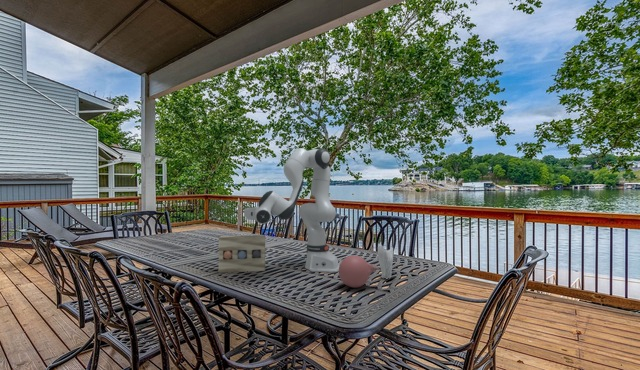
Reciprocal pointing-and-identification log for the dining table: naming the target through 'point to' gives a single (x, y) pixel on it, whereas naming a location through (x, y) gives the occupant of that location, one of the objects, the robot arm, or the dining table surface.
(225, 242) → the button panel
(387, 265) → the shell sculpture
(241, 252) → the slate button
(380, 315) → the dining table surface
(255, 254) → the charcoal button
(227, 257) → the terracotta button
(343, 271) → the pink bulb with spout
